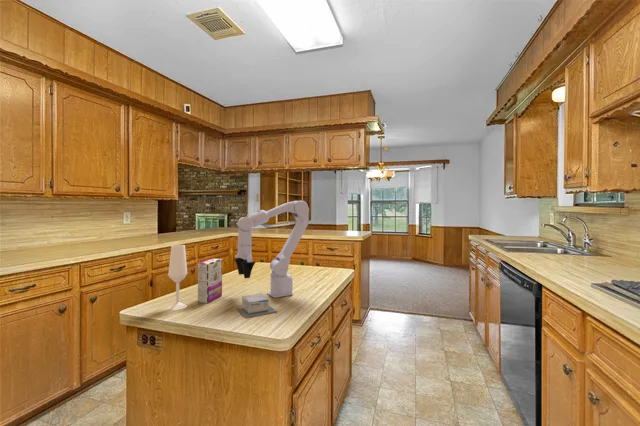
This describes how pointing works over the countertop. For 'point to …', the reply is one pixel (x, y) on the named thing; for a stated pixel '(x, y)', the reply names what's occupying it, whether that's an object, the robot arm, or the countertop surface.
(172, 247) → the champagne flute
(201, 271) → the candy bar box
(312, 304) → the countertop surface
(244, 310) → the slate mat
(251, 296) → the medicine box
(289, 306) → the countertop surface
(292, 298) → the countertop surface
